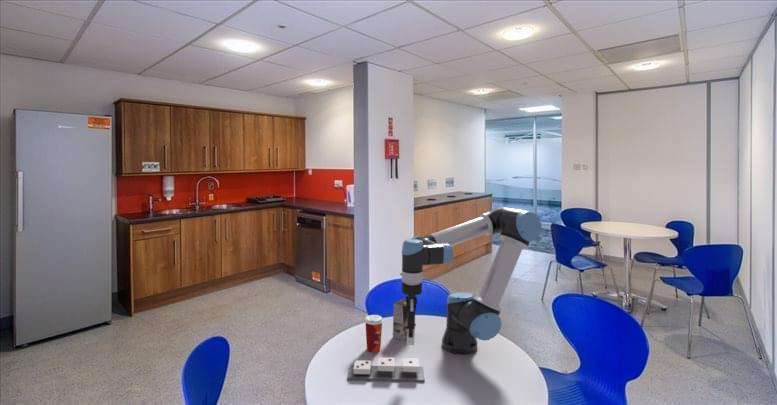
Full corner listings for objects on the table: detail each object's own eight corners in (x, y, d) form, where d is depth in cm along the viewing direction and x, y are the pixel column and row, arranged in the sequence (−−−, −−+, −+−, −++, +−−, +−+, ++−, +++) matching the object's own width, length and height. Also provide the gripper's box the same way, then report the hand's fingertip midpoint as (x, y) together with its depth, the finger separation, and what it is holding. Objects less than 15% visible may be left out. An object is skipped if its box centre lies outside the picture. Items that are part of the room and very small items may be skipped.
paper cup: (380, 355, 158) (380, 322, 157) (362, 353, 160) (362, 320, 159) (384, 346, 166) (384, 314, 165) (367, 344, 168) (367, 313, 166)
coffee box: (404, 341, 171) (404, 306, 169) (392, 337, 175) (392, 303, 173) (415, 333, 179) (415, 300, 177) (403, 330, 182) (404, 297, 181)
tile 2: (394, 362, 147) (394, 357, 146) (394, 371, 141) (394, 365, 140) (378, 362, 147) (378, 357, 147) (377, 370, 141) (378, 365, 141)
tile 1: (418, 363, 146) (418, 357, 146) (419, 371, 140) (419, 366, 140) (402, 362, 147) (402, 357, 146) (402, 371, 141) (402, 365, 140)
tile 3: (371, 365, 147) (371, 360, 147) (369, 374, 141) (369, 368, 141) (355, 365, 147) (355, 360, 147) (353, 373, 141) (353, 368, 141)
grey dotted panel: (423, 368, 148) (423, 366, 148) (424, 382, 139) (424, 379, 139) (350, 367, 149) (350, 364, 149) (347, 380, 140) (347, 377, 140)
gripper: (401, 276, 147) (400, 336, 149) (401, 287, 134) (400, 352, 136) (421, 277, 147) (419, 336, 149) (423, 288, 134) (421, 353, 136)
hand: (410, 344), depth 142 cm, fingers closed
